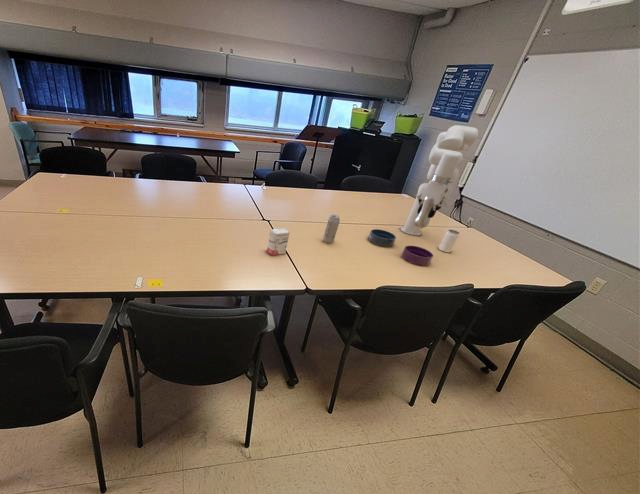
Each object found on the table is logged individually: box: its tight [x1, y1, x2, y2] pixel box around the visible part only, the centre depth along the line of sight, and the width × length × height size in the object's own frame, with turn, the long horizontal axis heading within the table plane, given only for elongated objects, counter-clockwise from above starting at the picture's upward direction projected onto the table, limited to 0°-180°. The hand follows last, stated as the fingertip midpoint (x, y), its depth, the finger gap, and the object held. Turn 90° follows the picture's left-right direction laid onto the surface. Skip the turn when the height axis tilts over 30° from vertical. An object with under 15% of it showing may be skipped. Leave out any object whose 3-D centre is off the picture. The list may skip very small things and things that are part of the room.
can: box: [438, 229, 460, 253], centre depth 185 cm, size 6×6×12 cm
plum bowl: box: [401, 245, 434, 266], centre depth 170 cm, size 14×14×5 cm
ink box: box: [266, 227, 290, 256], centre depth 156 cm, size 9×5×12 cm, turn 117°
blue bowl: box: [367, 228, 397, 248], centre depth 186 cm, size 14×14×5 cm
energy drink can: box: [322, 214, 341, 244], centre depth 174 cm, size 6×6×15 cm
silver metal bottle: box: [414, 196, 434, 229], centre depth 160 cm, size 6×7×20 cm
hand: (424, 215), depth 162 cm, fingers closed on silver metal bottle, 5 cm apart
